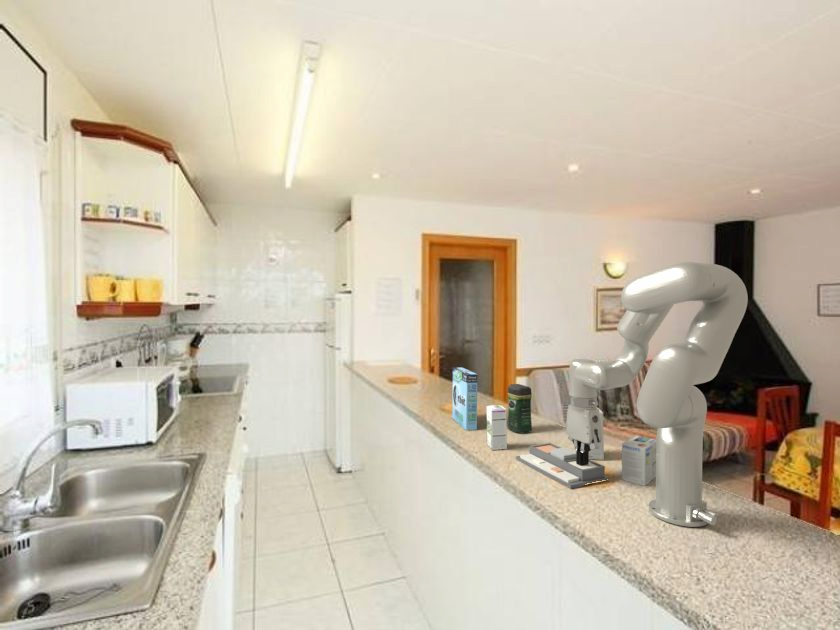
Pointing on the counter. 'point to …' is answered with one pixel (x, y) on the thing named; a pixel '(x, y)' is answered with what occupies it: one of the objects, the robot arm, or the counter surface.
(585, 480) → the keypad
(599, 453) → the skincare box
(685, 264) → the robot arm
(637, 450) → the light bulb box
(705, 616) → the counter surface
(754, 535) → the counter surface
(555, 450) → the grey key
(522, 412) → the coffee jar
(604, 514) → the counter surface
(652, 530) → the counter surface
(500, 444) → the syrup box
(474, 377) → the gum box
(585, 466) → the cream key
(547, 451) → the terracotta key
